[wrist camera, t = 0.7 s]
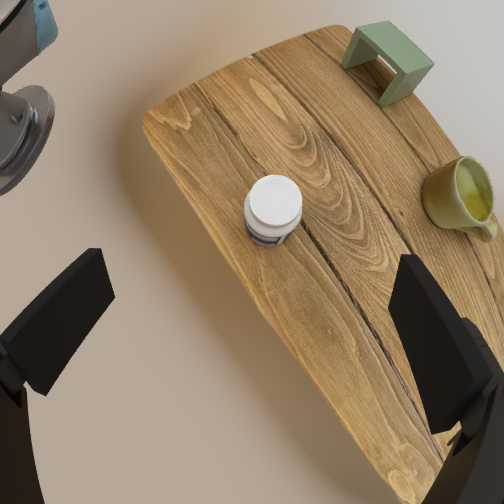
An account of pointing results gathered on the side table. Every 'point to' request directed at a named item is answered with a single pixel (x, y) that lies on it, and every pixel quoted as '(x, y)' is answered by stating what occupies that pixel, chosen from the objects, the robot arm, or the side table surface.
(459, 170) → the mug
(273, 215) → the pill bottle
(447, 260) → the side table surface
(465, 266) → the side table surface
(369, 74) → the side table surface
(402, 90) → the shelf
